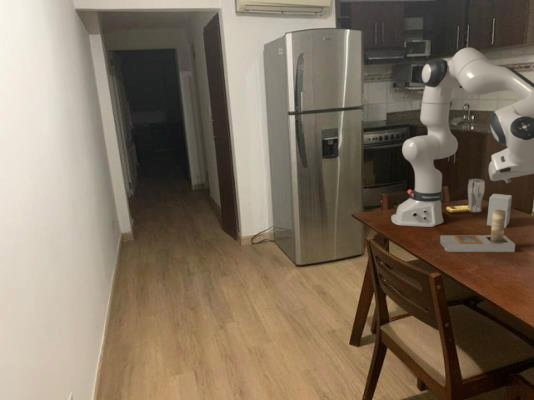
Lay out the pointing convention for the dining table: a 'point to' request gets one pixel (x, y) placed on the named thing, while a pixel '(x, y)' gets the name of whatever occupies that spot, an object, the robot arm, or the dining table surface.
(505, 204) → the supplement box
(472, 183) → the beer glass
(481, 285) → the dining table surface
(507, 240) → the board
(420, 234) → the dining table surface
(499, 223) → the peg
